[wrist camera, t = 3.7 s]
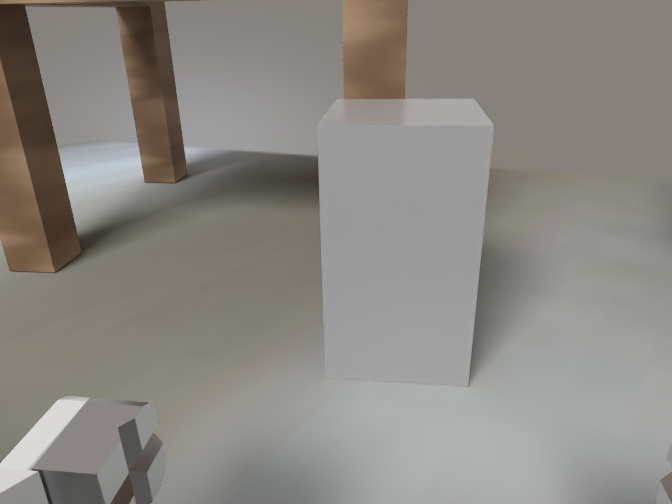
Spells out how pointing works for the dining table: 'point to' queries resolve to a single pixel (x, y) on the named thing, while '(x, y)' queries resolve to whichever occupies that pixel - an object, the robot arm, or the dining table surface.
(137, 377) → the dining table surface
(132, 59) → the trapdoor frame
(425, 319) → the light grey block
